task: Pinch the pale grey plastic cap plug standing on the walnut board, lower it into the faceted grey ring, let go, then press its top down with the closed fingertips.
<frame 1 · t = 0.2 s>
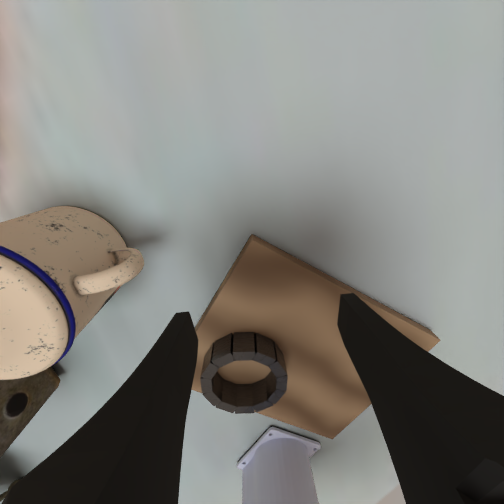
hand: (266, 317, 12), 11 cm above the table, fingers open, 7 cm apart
teacup with lid: (98, 249, 21), on the table
board: (297, 349, 26), on the table
faceted grey ring: (244, 351, 26), resting on board
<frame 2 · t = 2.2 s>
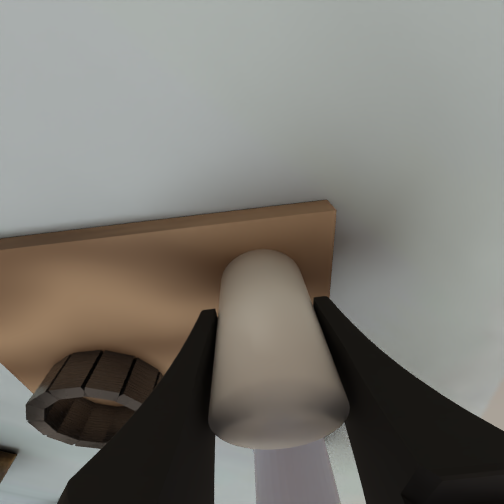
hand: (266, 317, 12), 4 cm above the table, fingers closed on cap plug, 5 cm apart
cap plug: (261, 283, 14), point 1 cm above the table, touching board, gripper
board: (171, 334, 18), on the table
faceted grey ring: (120, 366, 20), resting on board
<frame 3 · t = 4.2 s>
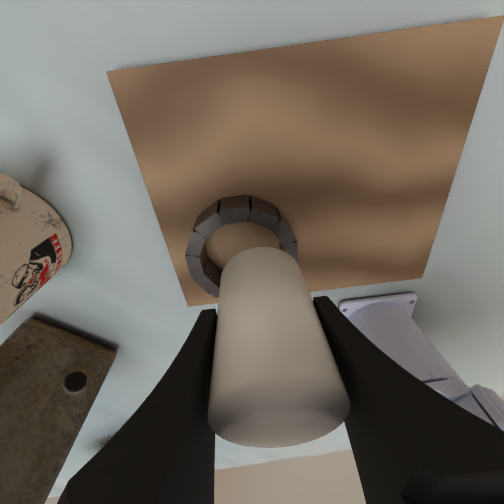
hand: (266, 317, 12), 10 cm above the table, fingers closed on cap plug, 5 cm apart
cap plug: (261, 281, 14), point 8 cm above the table, touching gripper
teacup with lid: (24, 216, 19), on the table
board: (299, 194, 19), on the table
faceted grey ring: (241, 235, 21), resting on board
vintage camera: (58, 363, 29), on the table
when the fingers open (5 cm above the table, at t = 6.1 s): cap plug stays where it is, resting on board.
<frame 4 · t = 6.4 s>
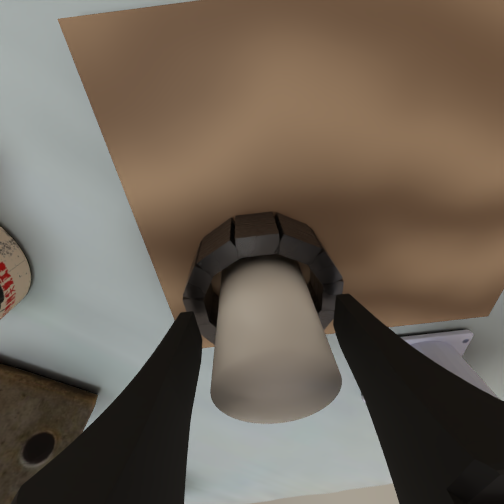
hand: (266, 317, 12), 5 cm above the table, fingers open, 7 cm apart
cap plug: (260, 273, 15), point 1 cm above the table, touching board
board: (338, 209, 14), on the table
faceted grey ring: (258, 261, 16), resting on board
vintage camera: (27, 406, 24), on the table
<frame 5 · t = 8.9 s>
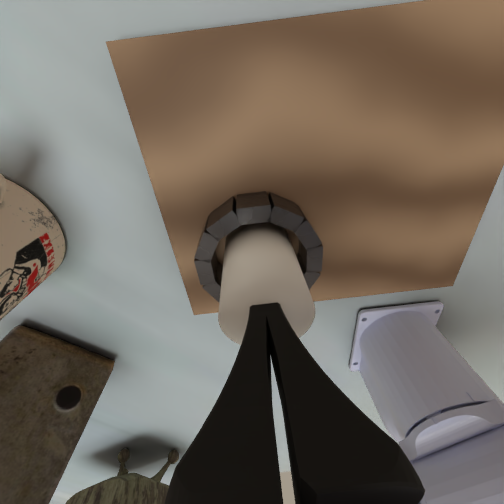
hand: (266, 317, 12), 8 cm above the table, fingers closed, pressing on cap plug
tabletop clock: (136, 451, 38), on the table
cap plug: (257, 244, 18), point 1 cm above the table, touching board, gripper
teacup with lid: (11, 213, 17), on the table
board: (321, 191, 17), on the table
faceted grey ring: (255, 236, 19), resting on board
vintage camera: (51, 373, 27), on the table
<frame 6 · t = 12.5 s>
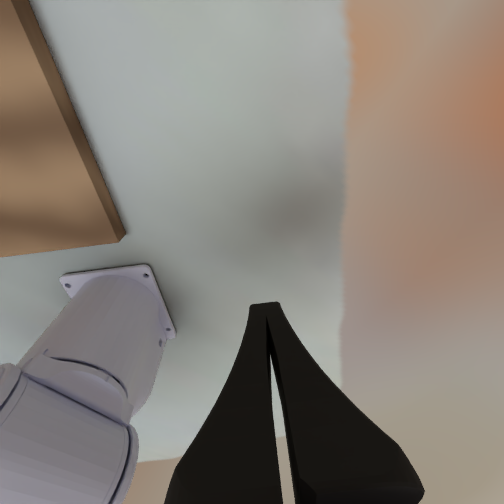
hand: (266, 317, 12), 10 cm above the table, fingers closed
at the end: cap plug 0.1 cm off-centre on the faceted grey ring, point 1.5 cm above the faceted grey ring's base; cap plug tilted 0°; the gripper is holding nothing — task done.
